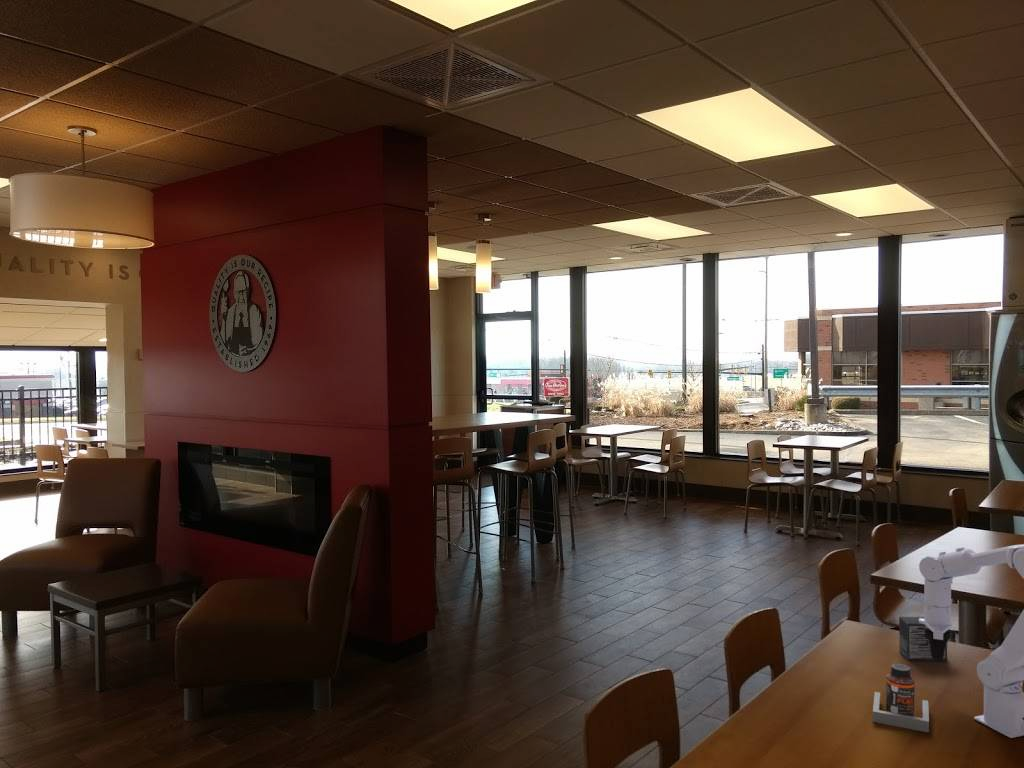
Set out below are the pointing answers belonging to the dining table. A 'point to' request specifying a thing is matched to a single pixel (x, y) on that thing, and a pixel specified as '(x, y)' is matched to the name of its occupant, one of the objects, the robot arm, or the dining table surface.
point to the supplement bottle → (900, 690)
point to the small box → (915, 640)
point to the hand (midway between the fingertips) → (937, 658)
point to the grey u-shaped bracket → (901, 717)
